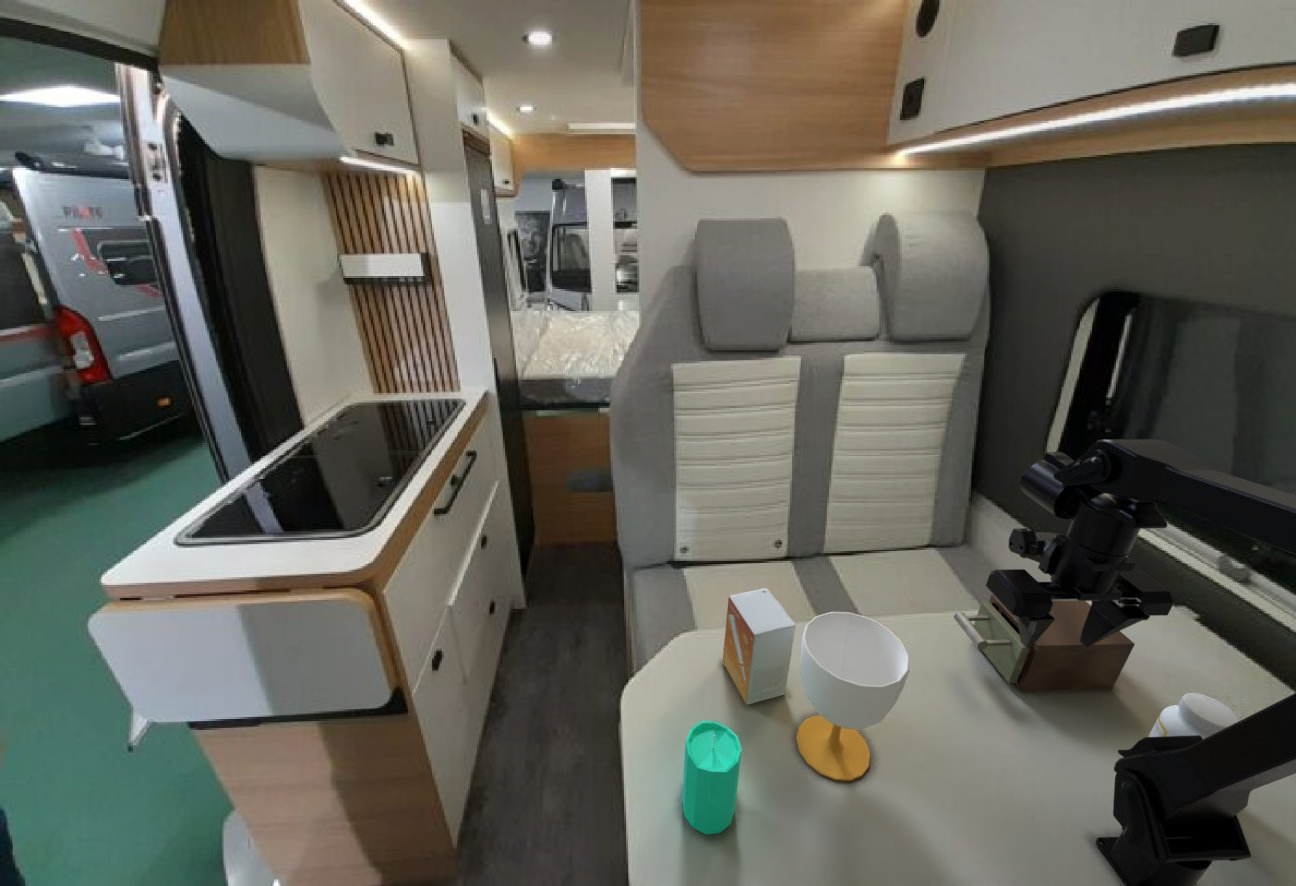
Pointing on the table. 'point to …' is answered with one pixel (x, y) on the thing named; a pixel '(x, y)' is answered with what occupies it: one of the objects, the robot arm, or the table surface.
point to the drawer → (997, 640)
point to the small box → (758, 645)
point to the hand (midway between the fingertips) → (1054, 644)
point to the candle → (710, 776)
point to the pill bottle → (1194, 717)
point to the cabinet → (1070, 653)
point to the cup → (847, 689)
